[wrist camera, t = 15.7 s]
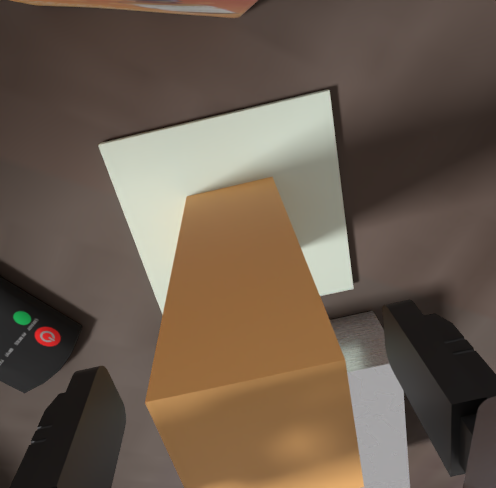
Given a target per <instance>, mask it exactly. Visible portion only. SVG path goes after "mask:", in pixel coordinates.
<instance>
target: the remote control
mask: <svg viewBox="0 0 496 488" xmlns="http://www.w3.org/2000/svg"><path fill="white" fill-rule="evenodd" d="M81 328H82V326H81V325H80V324H78V323H76V322H75V321H73V320H71V319H70V318H68V317H66V316H65V315H63V314H61V313H60V312H58V311H56V310H55V309H53V308H51V307H50V306H48V305H46V304H45V303H43V302H41V301H40V300H38V299H36V298H35V297H33V296H31V295H30V294H28V293H26V292H25V291H23V290H21V289H20V288H18V287H16V286H15V285H13V284H11V283H10V282H8V281H6V280H5V279H3V278H1V277H0V381H2V382H4V383H5V384H7V385H9V386H11V387H13V388H15V389H17V390H19V391H21V392H23V393H26V392H28V391H30V390H32V389H33V388H35V387H37V386H39V385H41V384H43V383H45V382H46V381H47V380H48V379H50V378H51V377H52V376H53V375H54V374H56V373H57V372H58V371H59V370H60V369H61V368H62V366H63V365H64V363H65V362H66V360H67V359H68V358H69V356H70V355H71V353H72V351H73V349H74V347H75V344H76V342H77V339H78V337H79V334H80V331H81Z"/></svg>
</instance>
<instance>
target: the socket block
mask: <svg viewBox="0 0 496 488" xmlns="http://www.w3.org/2000/svg"><path fill="white" fill-rule="evenodd" d="M330 323H331V325H332V328H333V330H334V333H335V335H336V338H337V340H338V343H339V345H340V348H341V350H342V353H343V355H344V358H345V361H346V368H347V375H348V382H349V388H350V395H351V402H352V408H353V415H354V422H355V429H356V435H357V442H358V449H359V456H360V462H361V469H362V476H363V482H364V487H361V488H410V482H409V467H408V452H407V436H406V421H405V406H404V391H403V389H402V387H401V385H400V383H399V382H398V380H397V378H396V376H395V374H394V372H393V371H392V368H391V366H390V364H389V361H388V358H387V354H386V349H385V337H384V329H383V328H382V326H381V324H380V322H379V321H378V319H377V317H376V315H375V314H374V312H373V311H370V312H365V313H361V314H356V315H351V316H347V317H342V318H337V319H333V320H330Z"/></svg>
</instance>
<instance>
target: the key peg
mask: <svg viewBox="0 0 496 488" xmlns="http://www.w3.org/2000/svg"><path fill="white" fill-rule="evenodd" d="M145 403H146V406H147V408H148V410H149V412H150V414H151V416H152V419H153V421H154V423H155V425H156V427H157V429H158V432H159V434H160V436H161V438H162V440H163V442H164V445H165V447H166V449H167V451H168V453H169V456H170V458H171V460H172V462H173V464H174V466H175V469H176V471H177V473H178V475H179V477H180V479H181V482H182V484H183V486H184V488H361V487H364V482H363V476H362V469H361V462H360V456H359V449H358V442H357V435H356V429H355V422H354V415H353V408H352V402H351V395H350V388H349V382H348V375H347V368H346V361H345V358H344V355H343V353H342V350H341V348H340V345H339V343H338V340H337V338H336V335H335V333H334V330H333V328H332V325H331V323H330V320H329V318H328V315H327V313H326V310H325V307H324V305H323V302H322V300H321V297H320V295H319V292H318V290H317V287H316V285H315V282H314V280H313V277H312V275H311V272H310V270H309V267H308V265H307V262H306V260H305V257H304V255H303V252H302V250H301V247H300V245H299V242H298V239H297V237H296V234H295V232H294V229H293V227H292V224H291V222H290V219H289V217H288V214H287V212H286V209H285V207H284V204H283V202H282V199H281V197H280V194H279V192H278V189H277V187H276V184H275V182H274V179H273V177H269V178H264V179H260V180H256V181H251V182H247V183H243V184H238V185H234V186H230V187H225V188H221V189H217V190H213V191H208V192H204V193H200V194H195V195H191V196H187V197H186V202H185V207H184V212H183V217H182V222H181V227H180V232H179V237H178V242H177V247H176V251H175V256H174V261H173V266H172V271H171V276H170V281H169V286H168V291H167V296H166V301H165V306H164V311H163V316H162V321H161V326H160V331H159V336H158V341H157V346H156V351H155V356H154V361H153V366H152V371H151V376H150V381H149V385H148V390H147V395H146V400H145Z"/></svg>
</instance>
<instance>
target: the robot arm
mask: <svg viewBox="0 0 496 488" xmlns="http://www.w3.org/2000/svg"><path fill="white" fill-rule="evenodd" d="M382 311H383V324H384V337H385V349H386V354H387V358H388V361H389V364H390V366H391V368H392V371H393V372H394V374H395V376H396V378H397V380H398V382H399V383H400V385H401V387H402V389H403V391H404V393H405V394H406V396H407V398H408V400H409V402H410V403H411V405H412V407H413V409H414V411H415V413H416V414H417V416H418V418H419V420H420V422H421V424H422V425H423V427H424V429H425V431H426V433H427V435H428V436H429V438H430V440H431V442H432V444H433V446H434V447H435V449H436V451H437V453H438V455H439V457H440V458H441V460H442V462H443V464H444V466H445V468H446V469H447V471H448V473H449V475H450V477H451V476H456V475H461V474H465V479H464V484H463V488H496V374H495V373H494V372H493V370H492V369H491V368H490V367H489V366H488V365H487V363H486V362H485V361H484V360H483V359H482V358H481V356H480V355H479V354H478V353H477V352H476V351H474V349H473V347H472V346H471V345H470V343H469V342H468V341H467V340H465V339H464V336H463V335H462V334H461V333H460V332H459V331H458V329H457V328H456V327H455V326H454V325H453V323H451V322H449V321H447V320H446V319H444V318H442V317H440V316H439V315H437V314H430V315H426V316H424V315H423V314H422V313H421V311H420V310H419V309H418V307H417V306H416V305H415V303H414V302H413V301H412V300H406V301H401V302H397V303H392V304H388V305H384V306H383V310H382ZM125 424H126V414H125V408H124V404H123V402H122V400H121V398H120V395H119V393H118V391H117V389H116V387H115V385H114V383H113V381H112V379H111V377H110V375H109V372H108V370H107V369H106V368H105V367H104V366H98V367H94V368H89V369H85V370H80V371H76V372H75V373H74V374H73V376H72V379H71V381H70V383H69V386H68V388H67V390H66V392H65V393H61V394H59V395H58V396H57V397H56V398H55V399H54V400H53V402H52V403H51V404H50V405H49V406H48V407H47V409H46V410H45V412H44V414H43V416H42V418H41V420H40V423H39V425H38V427H37V428H38V430H37V431H35V434H34V436H33V438H32V440H31V445H29V447H28V449H27V451H26V453H25V456H24V458H23V460H22V462H21V464H20V467H19V469H18V471H17V473H16V475H15V477H14V480H13V482H12V484H11V486H10V488H111V486H112V482H113V477H114V473H115V469H116V464H117V460H118V455H119V451H120V447H121V442H122V438H123V434H124V429H125Z"/></svg>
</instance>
